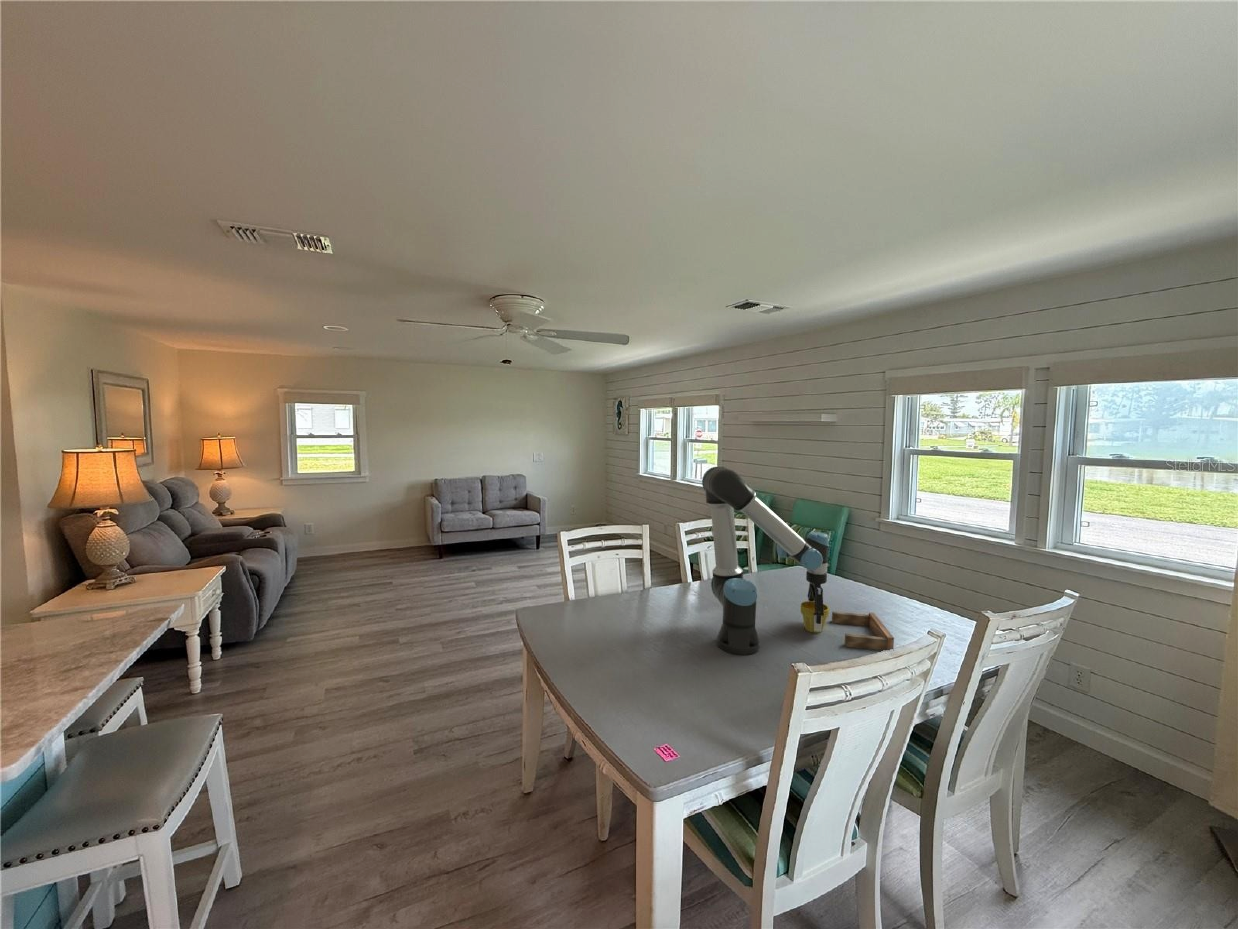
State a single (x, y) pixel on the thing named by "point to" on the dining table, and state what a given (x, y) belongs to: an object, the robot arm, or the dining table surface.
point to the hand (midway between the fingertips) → (814, 624)
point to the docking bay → (860, 641)
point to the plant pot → (808, 616)
